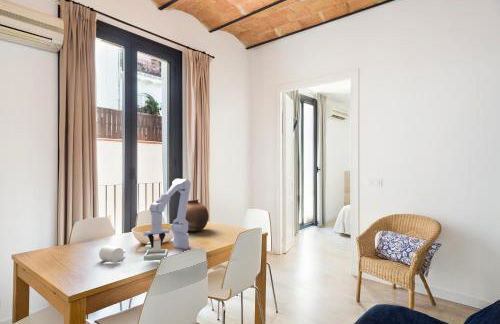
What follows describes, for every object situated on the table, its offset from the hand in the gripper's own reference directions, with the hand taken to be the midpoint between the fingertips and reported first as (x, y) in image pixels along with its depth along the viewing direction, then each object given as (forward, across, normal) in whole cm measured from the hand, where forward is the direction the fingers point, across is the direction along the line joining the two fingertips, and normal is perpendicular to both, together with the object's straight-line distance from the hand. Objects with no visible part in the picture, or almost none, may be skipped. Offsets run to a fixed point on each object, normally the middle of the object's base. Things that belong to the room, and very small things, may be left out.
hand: (156, 246), depth 171 cm
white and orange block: (+2, 0, 0) cm, 3 cm away
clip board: (+6, 0, -13) cm, 15 cm away
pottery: (+6, -44, -47) cm, 65 cm away
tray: (+6, 0, 0) cm, 6 cm away
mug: (+6, +21, -6) cm, 23 cm away
